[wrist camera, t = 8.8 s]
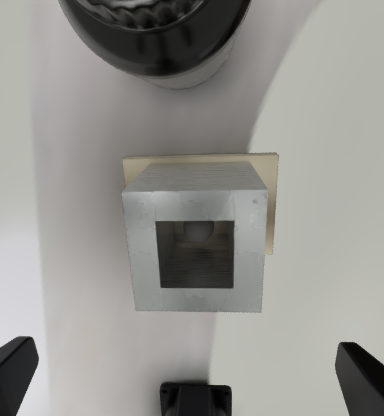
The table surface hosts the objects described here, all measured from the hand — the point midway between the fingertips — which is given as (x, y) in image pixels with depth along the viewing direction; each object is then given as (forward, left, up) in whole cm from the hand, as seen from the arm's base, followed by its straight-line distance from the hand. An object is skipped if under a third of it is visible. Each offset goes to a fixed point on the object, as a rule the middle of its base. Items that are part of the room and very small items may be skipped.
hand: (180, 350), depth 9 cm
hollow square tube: (0, 0, -12) cm, 12 cm away
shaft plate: (0, 0, -13) cm, 13 cm away
